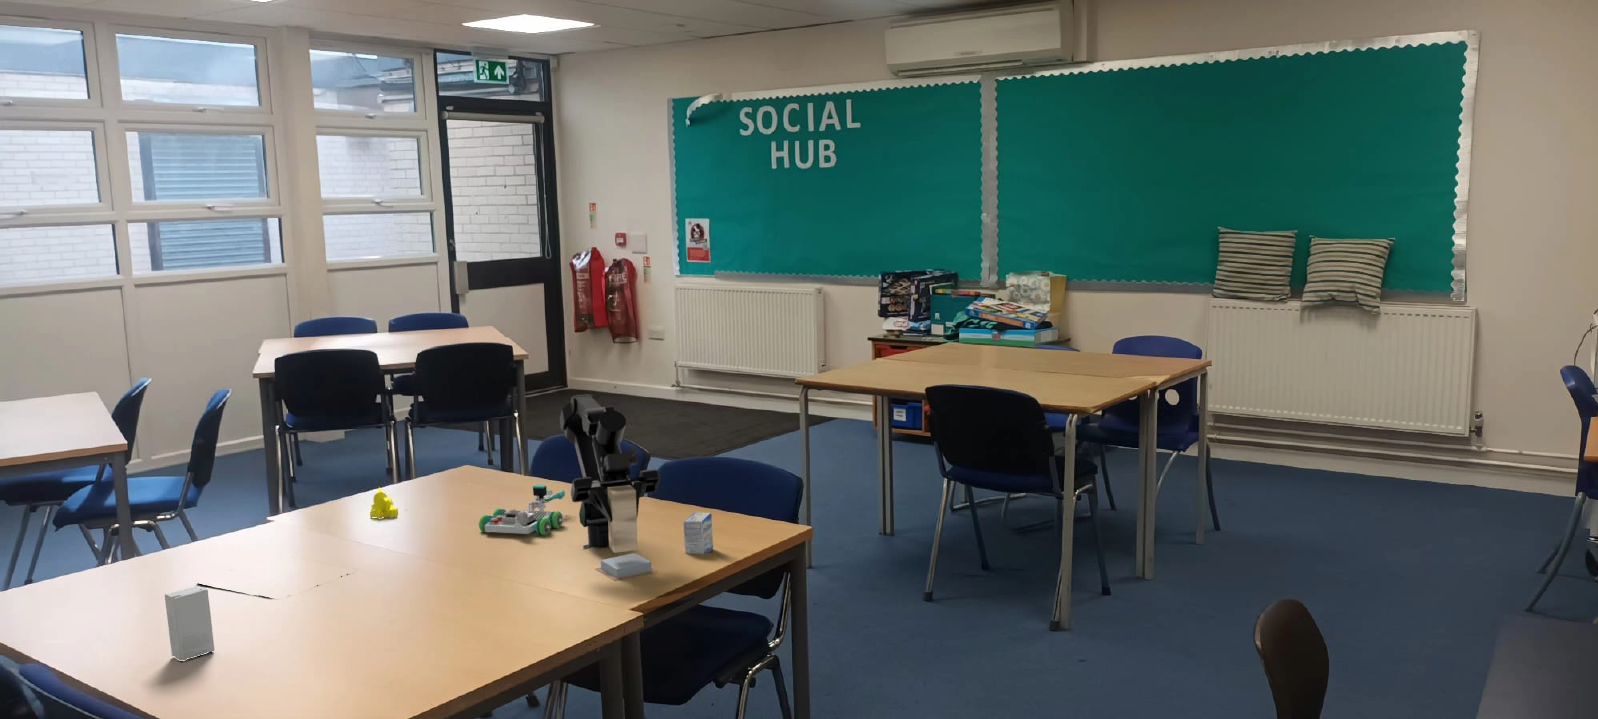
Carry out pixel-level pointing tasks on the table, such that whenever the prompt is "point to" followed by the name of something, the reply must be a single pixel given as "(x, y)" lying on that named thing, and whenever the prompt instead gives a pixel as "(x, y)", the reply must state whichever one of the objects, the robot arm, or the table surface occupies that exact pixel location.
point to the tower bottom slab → (623, 577)
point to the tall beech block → (622, 518)
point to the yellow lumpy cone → (383, 506)
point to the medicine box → (698, 533)
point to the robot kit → (525, 516)
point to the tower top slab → (626, 565)
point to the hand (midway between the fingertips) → (623, 519)
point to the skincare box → (189, 622)
